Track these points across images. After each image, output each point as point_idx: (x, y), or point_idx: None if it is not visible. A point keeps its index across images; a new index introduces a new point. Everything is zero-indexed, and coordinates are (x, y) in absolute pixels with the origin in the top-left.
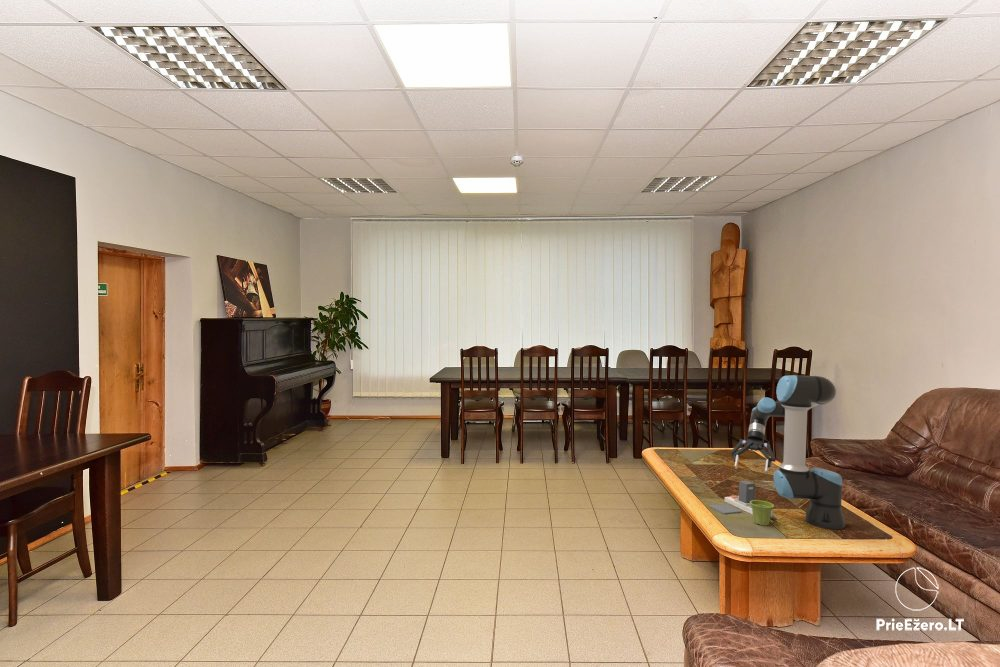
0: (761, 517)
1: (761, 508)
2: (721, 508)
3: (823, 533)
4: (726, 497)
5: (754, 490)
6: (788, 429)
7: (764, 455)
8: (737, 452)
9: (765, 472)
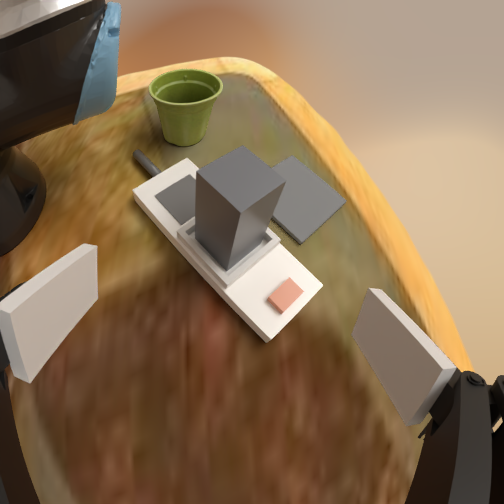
0: (187, 100)
1: (190, 74)
2: (307, 188)
3: (46, 139)
4: (316, 283)
5: (196, 196)
6: None
7: (9, 438)
8: (473, 397)
9: (94, 277)
